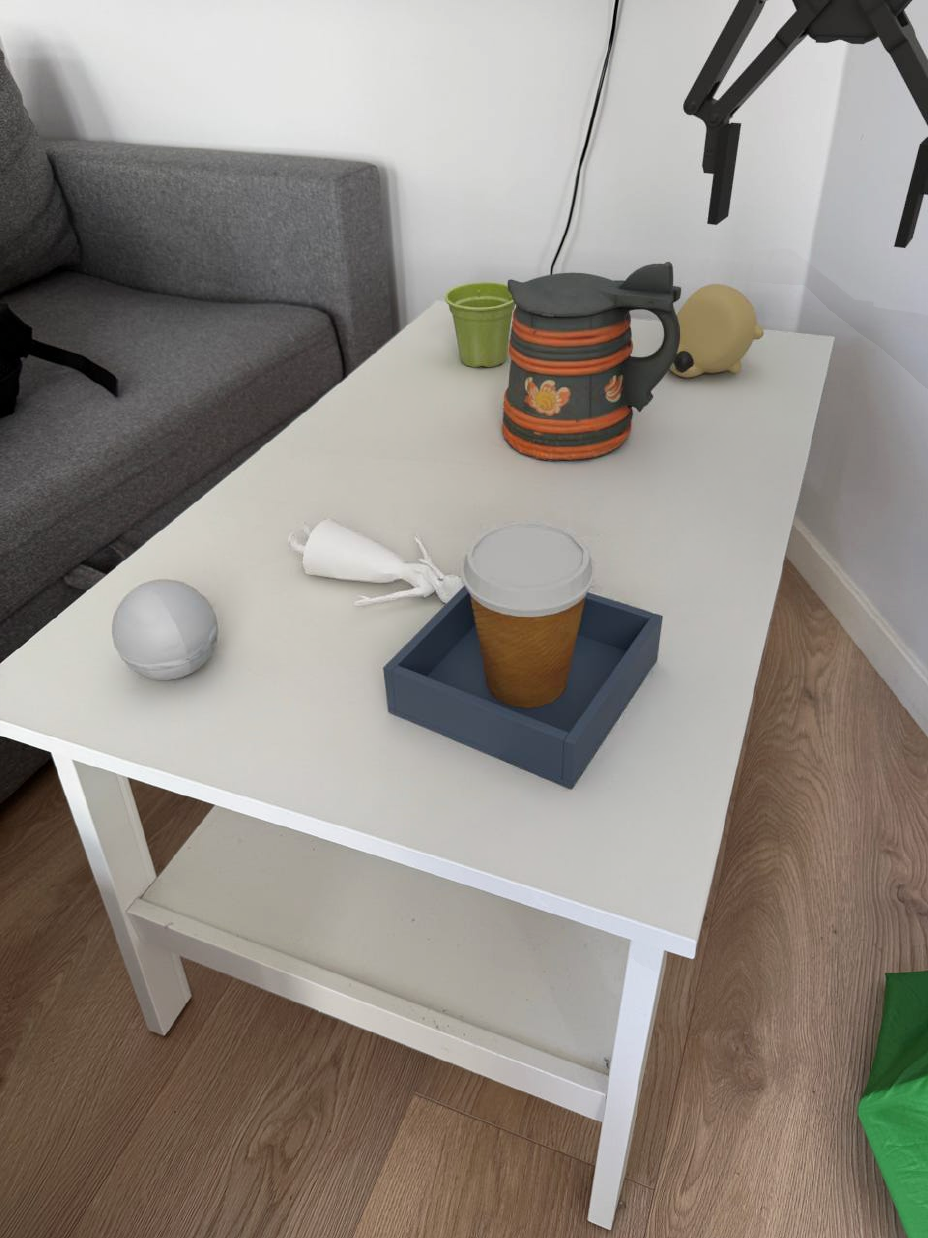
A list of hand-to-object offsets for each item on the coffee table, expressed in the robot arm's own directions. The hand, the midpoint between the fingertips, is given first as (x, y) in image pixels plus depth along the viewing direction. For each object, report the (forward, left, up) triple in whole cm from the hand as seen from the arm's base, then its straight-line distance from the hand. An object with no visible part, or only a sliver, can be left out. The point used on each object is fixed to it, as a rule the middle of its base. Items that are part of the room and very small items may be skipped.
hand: (806, 231), depth 68 cm
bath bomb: (+35, +39, -29) cm, 59 cm away
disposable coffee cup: (+9, +27, -28) cm, 40 cm away
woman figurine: (+27, +21, -29) cm, 44 cm away
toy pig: (+17, -36, -29) cm, 49 cm away
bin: (+9, +27, -28) cm, 40 cm away
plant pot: (+44, -26, -29) cm, 59 cm away
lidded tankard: (+23, -13, -29) cm, 39 cm away
